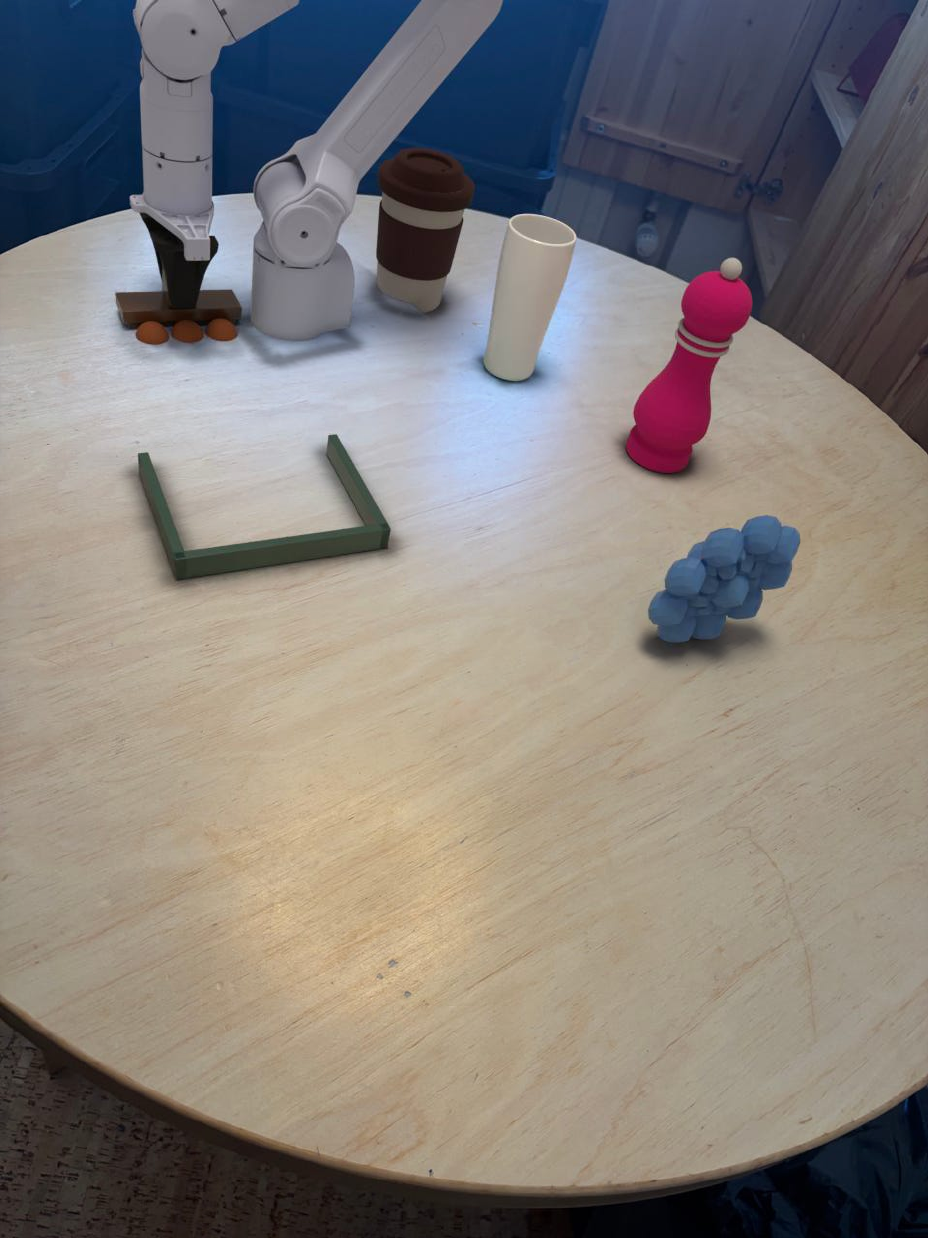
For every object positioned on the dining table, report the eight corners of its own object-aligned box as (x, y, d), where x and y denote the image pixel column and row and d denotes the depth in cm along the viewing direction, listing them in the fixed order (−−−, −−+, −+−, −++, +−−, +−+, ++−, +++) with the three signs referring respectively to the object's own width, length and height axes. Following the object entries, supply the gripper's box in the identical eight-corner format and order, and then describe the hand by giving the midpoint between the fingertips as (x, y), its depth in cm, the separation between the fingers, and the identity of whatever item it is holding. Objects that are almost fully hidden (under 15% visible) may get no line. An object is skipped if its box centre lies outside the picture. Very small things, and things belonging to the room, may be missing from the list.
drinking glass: (540, 360, 102) (578, 223, 92) (537, 393, 97) (577, 251, 87) (478, 346, 101) (510, 206, 91) (472, 378, 97) (505, 234, 86)
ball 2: (225, 328, 93) (228, 308, 91) (241, 352, 93) (245, 331, 90) (198, 337, 92) (200, 316, 89) (214, 361, 91) (216, 341, 89)
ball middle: (192, 330, 92) (194, 309, 89) (208, 353, 91) (211, 333, 89) (164, 339, 90) (165, 317, 88) (180, 363, 90) (182, 342, 87)
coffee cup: (350, 278, 107) (366, 138, 96) (430, 276, 111) (454, 142, 101) (382, 323, 101) (403, 180, 91) (465, 319, 105) (494, 182, 95)
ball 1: (158, 331, 90) (160, 310, 88) (174, 355, 90) (176, 335, 87) (129, 340, 89) (129, 319, 86) (145, 365, 89) (146, 344, 86)
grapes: (725, 589, 80) (786, 476, 72) (770, 647, 76) (840, 533, 68) (608, 607, 76) (658, 488, 68) (649, 670, 72) (708, 551, 63)
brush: (116, 318, 90) (110, 228, 84) (231, 314, 95) (233, 228, 89) (124, 338, 88) (118, 247, 82) (241, 332, 93) (243, 246, 87)
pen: (138, 473, 76) (137, 452, 75) (334, 452, 83) (336, 433, 82) (175, 580, 69) (175, 559, 67) (387, 547, 76) (391, 528, 74)
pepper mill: (690, 485, 91) (778, 288, 77) (617, 464, 91) (692, 263, 77) (692, 444, 96) (775, 253, 82) (623, 425, 96) (694, 231, 82)
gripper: (111, 112, 83) (120, 261, 92) (146, 183, 74) (152, 340, 84) (193, 117, 86) (193, 260, 95) (236, 186, 77) (231, 336, 87)
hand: (179, 298), depth 90 cm, fingers closed on brush, 2 cm apart
